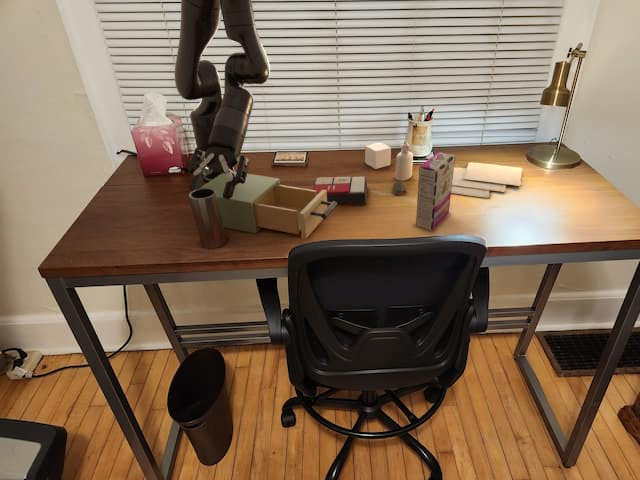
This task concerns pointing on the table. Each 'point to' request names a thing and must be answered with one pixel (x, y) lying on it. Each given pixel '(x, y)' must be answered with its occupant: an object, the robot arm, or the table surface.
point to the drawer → (292, 209)
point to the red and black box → (343, 189)
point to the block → (399, 188)
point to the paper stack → (484, 179)
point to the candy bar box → (434, 190)
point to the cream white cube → (377, 155)
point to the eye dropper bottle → (404, 163)
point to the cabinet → (241, 200)
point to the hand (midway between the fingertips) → (210, 195)
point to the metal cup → (208, 217)
